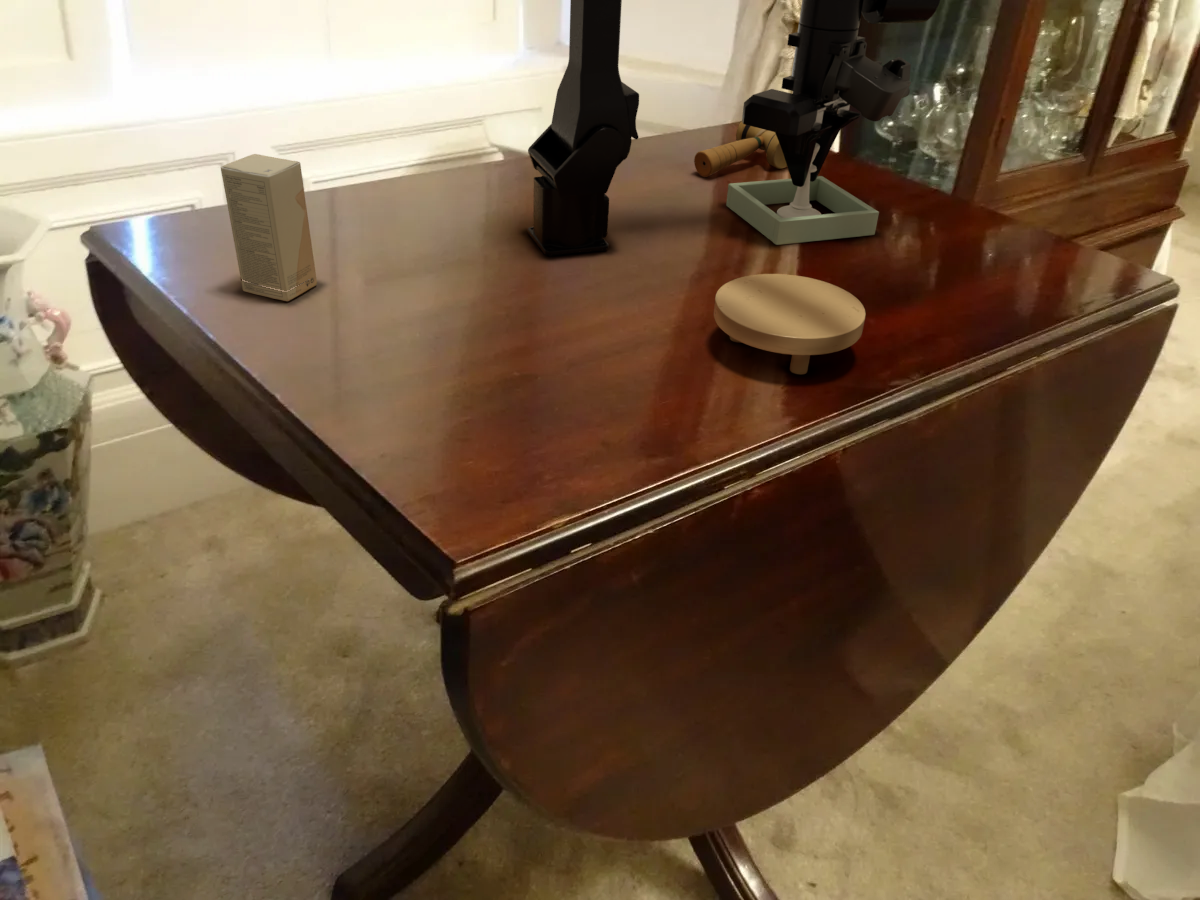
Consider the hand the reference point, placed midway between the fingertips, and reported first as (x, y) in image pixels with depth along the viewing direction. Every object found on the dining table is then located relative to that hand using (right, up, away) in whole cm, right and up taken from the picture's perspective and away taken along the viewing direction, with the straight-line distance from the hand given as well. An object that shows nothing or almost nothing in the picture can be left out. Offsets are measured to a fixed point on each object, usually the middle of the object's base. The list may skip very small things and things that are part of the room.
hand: (804, 183), depth 108 cm
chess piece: (0, -4, +2) cm, 4 cm away
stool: (-6, -20, -23) cm, 31 cm away
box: (-50, -14, -17) cm, 54 cm away
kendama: (-3, +7, +18) cm, 19 cm away
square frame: (0, -3, +2) cm, 4 cm away
